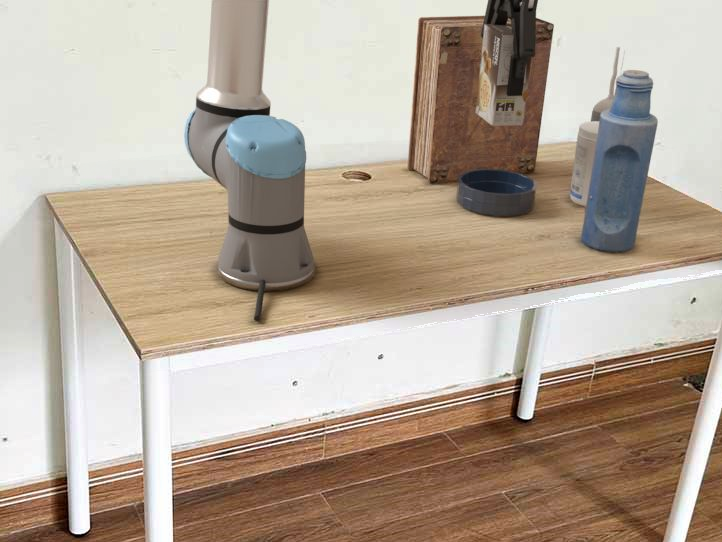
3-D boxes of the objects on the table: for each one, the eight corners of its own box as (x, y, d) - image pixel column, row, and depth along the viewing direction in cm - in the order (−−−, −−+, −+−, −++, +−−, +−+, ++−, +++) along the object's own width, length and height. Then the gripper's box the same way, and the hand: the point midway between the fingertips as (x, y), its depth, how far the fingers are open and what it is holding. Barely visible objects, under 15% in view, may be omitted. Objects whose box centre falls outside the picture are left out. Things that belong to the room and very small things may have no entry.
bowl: (547, 214, 199) (550, 191, 197) (476, 220, 194) (479, 197, 192) (511, 188, 211) (514, 166, 209) (444, 193, 206) (446, 171, 204)
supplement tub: (622, 199, 210) (635, 125, 202) (611, 213, 202) (624, 137, 195) (575, 190, 213) (586, 117, 205) (562, 204, 205) (573, 128, 198)
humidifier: (597, 159, 232) (616, 41, 219) (626, 169, 227) (647, 49, 214) (572, 165, 227) (590, 45, 215) (601, 175, 222) (621, 53, 209)
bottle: (636, 238, 192) (668, 69, 177) (632, 257, 183) (664, 82, 168) (583, 230, 193) (610, 62, 178) (577, 248, 185) (604, 74, 170)
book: (428, 184, 210) (440, 27, 195) (407, 169, 217) (417, 17, 202) (535, 172, 221) (554, 23, 206) (511, 159, 228) (529, 13, 213)
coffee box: (524, 126, 191) (536, 34, 183) (491, 126, 189) (502, 33, 181) (505, 112, 199) (516, 23, 191) (473, 112, 197) (483, 22, 189)
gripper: (568, -35, 173) (549, 103, 184) (508, -55, 190) (493, 73, 201) (528, -36, 170) (510, 104, 181) (470, -56, 187) (458, 74, 199)
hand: (502, 88), depth 191 cm, fingers closed on coffee box, 9 cm apart
